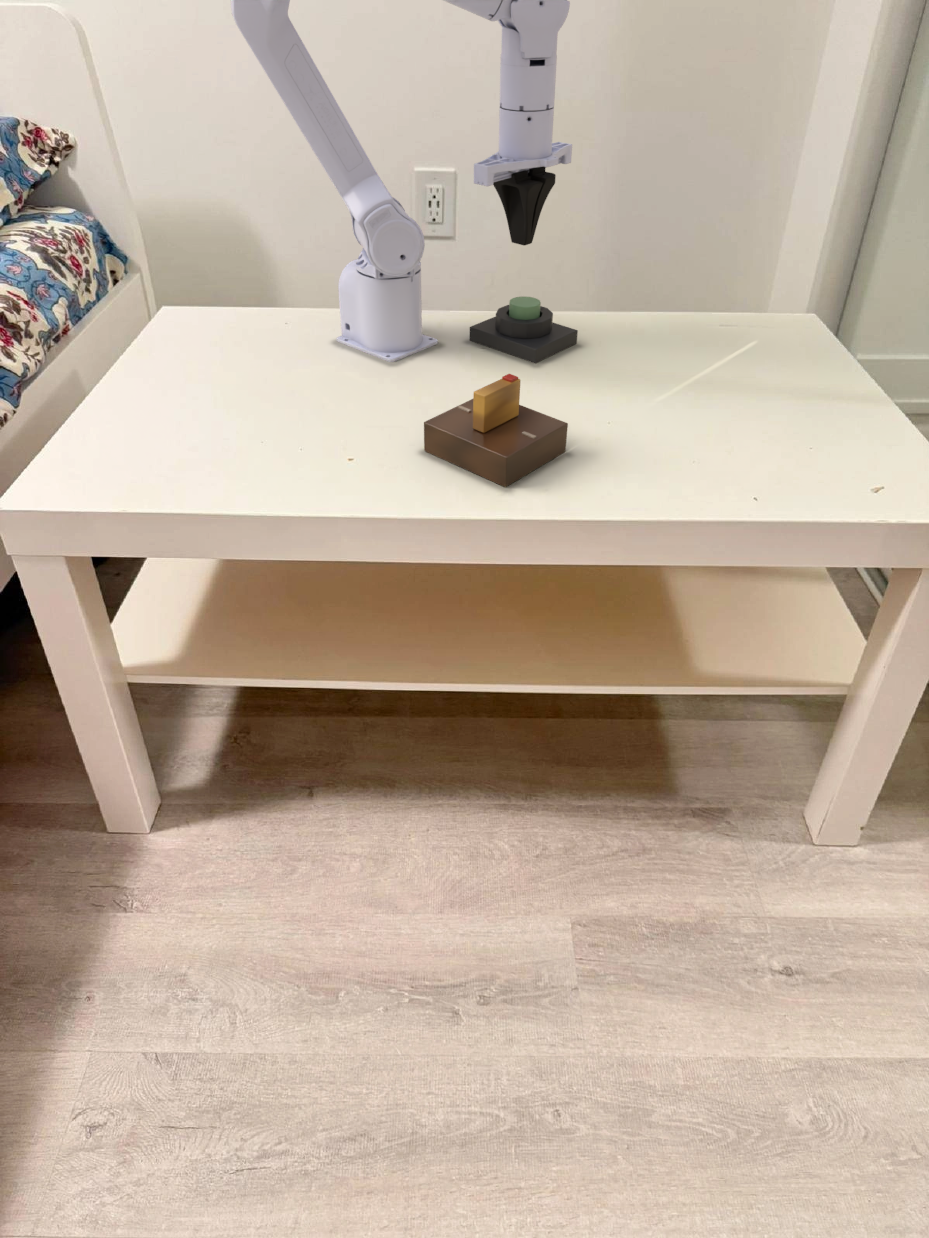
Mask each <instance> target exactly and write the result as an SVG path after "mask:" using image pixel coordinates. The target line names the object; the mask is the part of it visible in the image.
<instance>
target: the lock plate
mask: <svg viewBox="0 0 929 1238" xmlns="http://www.w3.org/2000/svg"><path fill="white" fill-rule="evenodd" d="M568 427H569V423H568V422H566V421H563V420H560V419H558V418H555V417H552V416H550V415H547V414H545V413H542V412H539V411H537V410H534V409H532V408H529V407H526V406H524V405H521V404H519V415H518V416H516V417H514V418H512V419H510V420H508V421H507V422H505V423H503V424H501V425H499V426H497V427H495V428H493V429H491V430H489V431H487V432H485V433H483V432H480V431H478V430H476V429H473V398H471V399H469V400H467V401H465V402H463V403H460V404H458V405H456V406H454V407H452V408H450V409H448V410H446V411H444V412H442V413H440V414H437V415H435V416H434V417H432V418H429V419H428V420H426V421H424V422H423V447H424V448H423V450H424V452H426V453H428V454H431V455H432V456H435V457H437V458H439V459H442V460H444V461H446V462H448V463H450V464H453V465H455V466H457V467H459V468H461V469H464V470H466V471H468V472H471V473H473V474H474V475H475V474H476V475H477V476H479V477H482V478H484V479H486V480H489V481H491V482H493V483H495V484H498V485H500V486H501V487H504V488H506V487H508V486H510V485H511V484H514V483H516V482H517V481H518V480H520V479H522V478H524V477H525V476H527V475H528V474H530V473H532V472H534V471H535V470H537V469H539V468H541V467H542V466H544V465H545V464H548V463H549V462H550V461H552V460H554V459H556V458H557V457H559V456H561V455H562V454H564V453H566V451H567V450H566V449H567V437H568Z"/></svg>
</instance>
